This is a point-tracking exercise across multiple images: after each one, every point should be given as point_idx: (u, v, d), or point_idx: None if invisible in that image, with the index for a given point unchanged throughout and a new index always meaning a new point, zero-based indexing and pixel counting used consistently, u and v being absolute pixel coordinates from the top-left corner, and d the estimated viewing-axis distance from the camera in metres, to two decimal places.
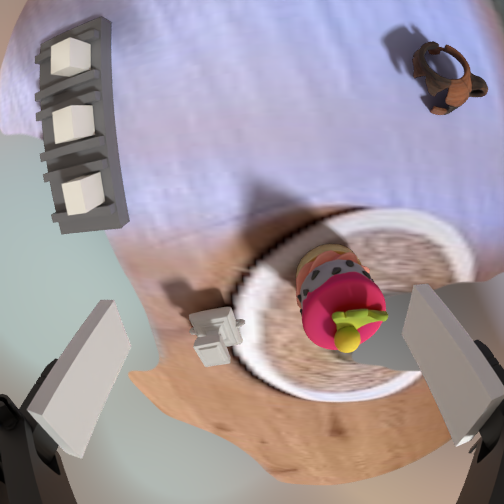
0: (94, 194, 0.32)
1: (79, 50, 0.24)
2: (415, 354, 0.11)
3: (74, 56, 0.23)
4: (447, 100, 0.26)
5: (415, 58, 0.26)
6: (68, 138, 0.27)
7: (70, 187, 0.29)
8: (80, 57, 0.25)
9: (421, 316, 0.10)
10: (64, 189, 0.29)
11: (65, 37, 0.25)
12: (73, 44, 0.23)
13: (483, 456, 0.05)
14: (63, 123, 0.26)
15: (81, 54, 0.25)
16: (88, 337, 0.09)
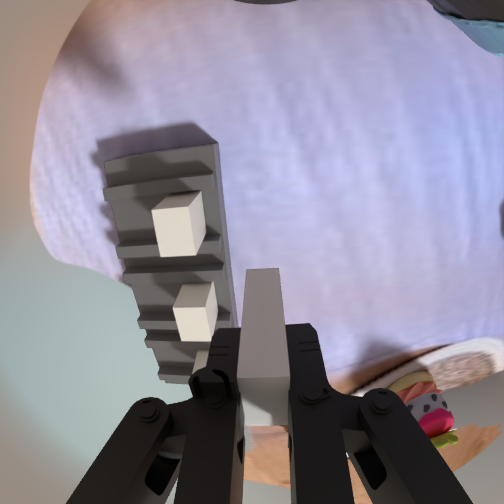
0: None
1: (197, 216, 0.24)
2: None
3: (195, 232, 0.23)
4: None
5: None
6: (203, 340, 0.27)
7: None
8: (199, 226, 0.25)
9: None
10: None
11: (150, 164, 0.25)
12: (192, 214, 0.23)
13: None
14: (193, 324, 0.26)
15: (199, 220, 0.25)
16: (262, 300, 0.11)
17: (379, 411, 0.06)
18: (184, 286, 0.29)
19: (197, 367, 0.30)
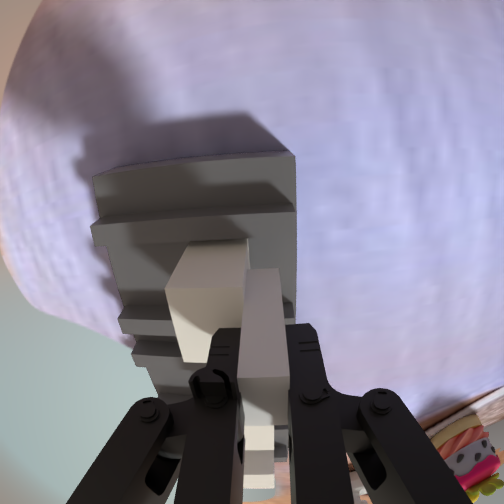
0: None
1: None
2: None
3: None
4: None
5: None
6: (261, 449, 0.16)
7: (253, 476, 0.19)
8: None
9: None
10: None
11: (175, 183, 0.14)
12: None
13: None
14: (250, 436, 0.15)
15: None
16: (262, 300, 0.11)
17: (378, 411, 0.06)
18: None
19: None
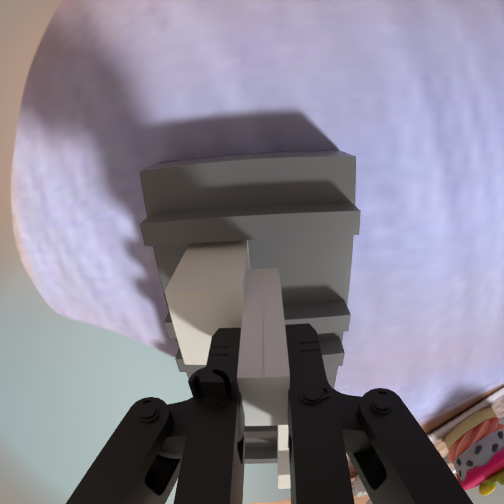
0: None
1: None
2: None
3: None
4: None
5: None
6: None
7: None
8: None
9: None
10: (282, 477, 0.18)
11: (235, 180, 0.14)
12: None
13: None
14: None
15: None
16: (262, 300, 0.11)
17: (379, 411, 0.06)
18: None
19: (283, 463, 0.19)
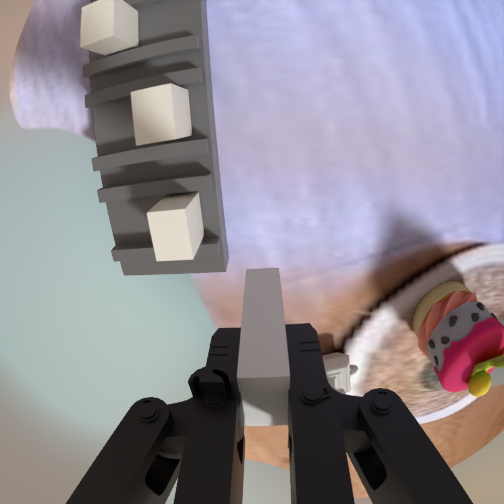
0: (196, 227, 0.24)
1: (125, 16, 0.16)
2: None
3: (119, 22, 0.15)
4: None
5: None
6: (164, 138, 0.18)
7: (164, 219, 0.21)
8: (126, 26, 0.16)
9: None
10: (152, 221, 0.21)
11: None
12: (118, 5, 0.14)
13: None
14: (153, 112, 0.18)
15: (127, 22, 0.16)
16: (262, 300, 0.11)
17: (379, 411, 0.06)
18: None
19: (157, 207, 0.22)
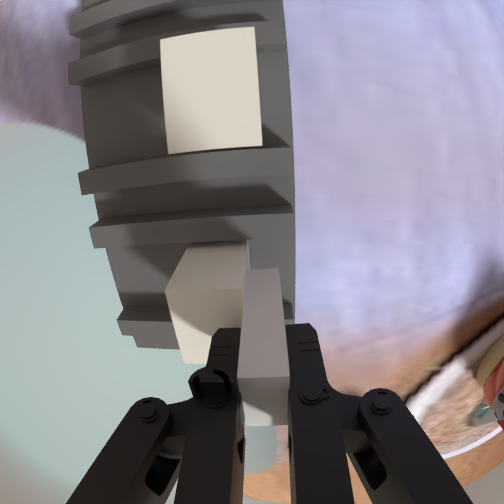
0: None
1: None
2: None
3: None
4: None
5: None
6: (235, 142, 0.09)
7: (200, 303, 0.11)
8: None
9: None
10: (175, 305, 0.11)
11: None
12: None
13: None
14: (211, 83, 0.08)
15: None
16: (262, 300, 0.11)
17: (378, 411, 0.06)
18: None
19: (182, 275, 0.12)
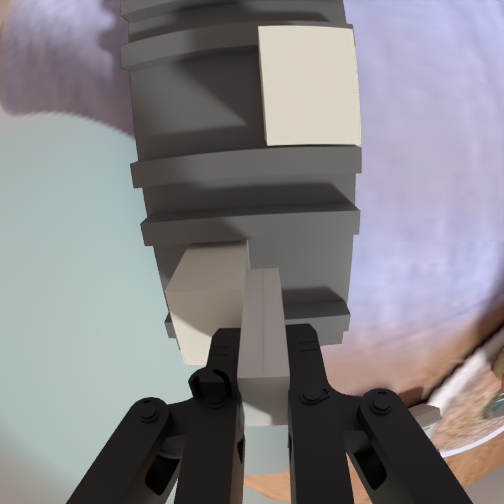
0: None
1: None
2: None
3: None
4: None
5: None
6: (336, 138, 0.08)
7: (200, 304, 0.11)
8: None
9: None
10: (176, 306, 0.11)
11: None
12: None
13: None
14: (314, 78, 0.08)
15: None
16: (262, 300, 0.11)
17: (378, 412, 0.06)
18: None
19: (182, 276, 0.12)
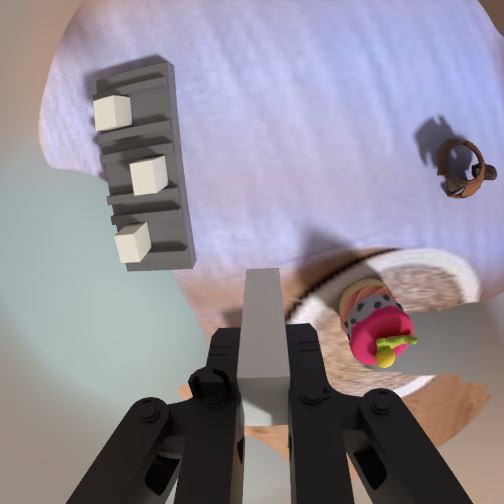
0: (144, 243, 0.39)
1: (122, 107, 0.31)
2: None
3: (118, 114, 0.31)
4: (462, 194, 0.35)
5: (440, 157, 0.35)
6: (150, 192, 0.34)
7: (123, 239, 0.36)
8: (123, 114, 0.32)
9: None
10: (117, 240, 0.36)
11: (126, 78, 0.32)
12: (116, 102, 0.30)
13: None
14: (143, 177, 0.33)
15: (123, 110, 0.32)
16: (262, 300, 0.11)
17: (379, 411, 0.06)
18: (142, 159, 0.35)
19: (120, 232, 0.37)
